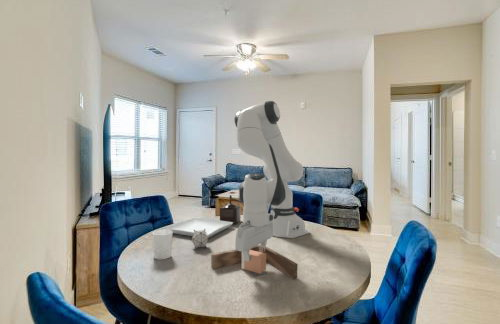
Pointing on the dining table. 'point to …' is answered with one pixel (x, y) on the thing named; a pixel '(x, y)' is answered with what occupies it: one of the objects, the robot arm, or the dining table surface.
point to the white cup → (162, 243)
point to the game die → (200, 238)
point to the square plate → (199, 226)
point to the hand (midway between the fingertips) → (255, 256)
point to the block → (255, 262)
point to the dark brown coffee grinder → (230, 212)
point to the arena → (271, 256)
